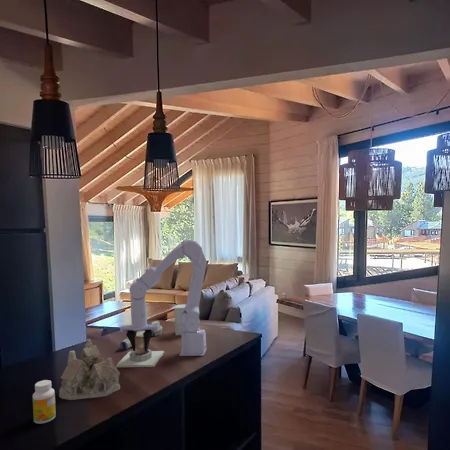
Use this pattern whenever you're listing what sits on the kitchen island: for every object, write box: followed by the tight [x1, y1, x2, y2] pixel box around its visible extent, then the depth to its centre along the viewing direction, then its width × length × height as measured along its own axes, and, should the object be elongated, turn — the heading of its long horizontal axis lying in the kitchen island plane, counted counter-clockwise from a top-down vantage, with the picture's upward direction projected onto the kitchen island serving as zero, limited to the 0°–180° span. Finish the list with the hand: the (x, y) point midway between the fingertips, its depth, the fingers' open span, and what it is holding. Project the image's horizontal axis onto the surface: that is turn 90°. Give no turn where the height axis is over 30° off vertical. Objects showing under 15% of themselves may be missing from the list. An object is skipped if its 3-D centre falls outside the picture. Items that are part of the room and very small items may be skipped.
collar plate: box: [115, 348, 165, 368], centre depth 142 cm, size 14×14×3 cm
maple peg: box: [135, 335, 146, 355], centre depth 142 cm, size 4×4×7 cm
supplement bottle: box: [32, 379, 57, 425], centre depth 101 cm, size 5×5×10 cm
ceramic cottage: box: [58, 338, 121, 401], centre depth 117 cm, size 16×16×15 cm
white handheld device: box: [119, 320, 163, 351], centre depth 165 cm, size 5×7×25 cm
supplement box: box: [173, 303, 187, 336], centre depth 173 cm, size 7×7×13 cm
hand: (140, 350), depth 142 cm, fingers closed on maple peg, 4 cm apart
